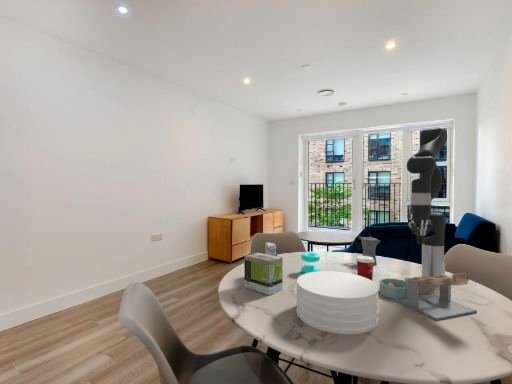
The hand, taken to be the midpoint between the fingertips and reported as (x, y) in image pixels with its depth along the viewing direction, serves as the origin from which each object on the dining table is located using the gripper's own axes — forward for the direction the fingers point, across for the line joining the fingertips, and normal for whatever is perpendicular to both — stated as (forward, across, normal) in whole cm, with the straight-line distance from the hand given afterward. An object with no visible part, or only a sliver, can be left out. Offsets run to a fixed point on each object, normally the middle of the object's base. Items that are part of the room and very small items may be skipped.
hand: (420, 243), depth 119 cm
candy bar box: (+22, +52, -42) cm, 71 cm away
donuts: (+22, +30, -41) cm, 55 cm away
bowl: (+22, +10, -3) cm, 24 cm away
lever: (+13, +5, +11) cm, 17 cm away
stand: (+21, +6, +12) cm, 25 cm away
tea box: (+22, +62, -26) cm, 71 cm away
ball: (+19, +10, -6) cm, 23 cm away
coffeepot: (+22, -12, -47) cm, 53 cm away
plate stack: (+22, +46, +5) cm, 51 cm away
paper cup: (+22, +18, -13) cm, 31 cm away
